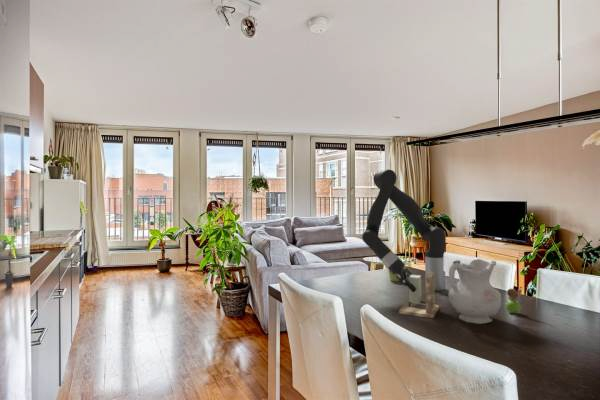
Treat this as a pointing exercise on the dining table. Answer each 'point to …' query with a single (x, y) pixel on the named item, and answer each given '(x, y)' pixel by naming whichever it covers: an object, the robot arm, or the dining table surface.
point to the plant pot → (393, 277)
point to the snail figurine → (513, 300)
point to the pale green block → (417, 284)
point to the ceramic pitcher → (474, 291)
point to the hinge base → (423, 308)
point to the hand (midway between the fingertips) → (417, 289)
